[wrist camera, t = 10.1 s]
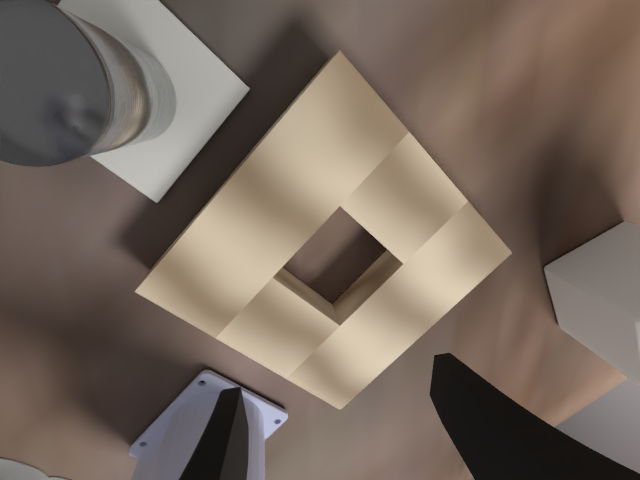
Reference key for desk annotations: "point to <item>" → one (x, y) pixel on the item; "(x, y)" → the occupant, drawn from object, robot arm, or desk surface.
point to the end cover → (73, 87)
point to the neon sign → (23, 471)
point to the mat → (189, 83)
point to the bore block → (304, 220)
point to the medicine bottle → (602, 296)
